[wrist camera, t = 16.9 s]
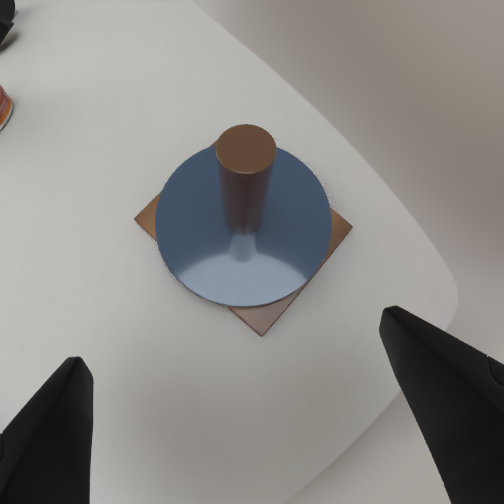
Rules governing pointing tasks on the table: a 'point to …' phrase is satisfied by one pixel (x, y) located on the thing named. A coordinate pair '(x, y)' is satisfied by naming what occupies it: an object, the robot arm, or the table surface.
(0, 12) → the light fixture
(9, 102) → the pill bottle
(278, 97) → the table surface
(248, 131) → the lid
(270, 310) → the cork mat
